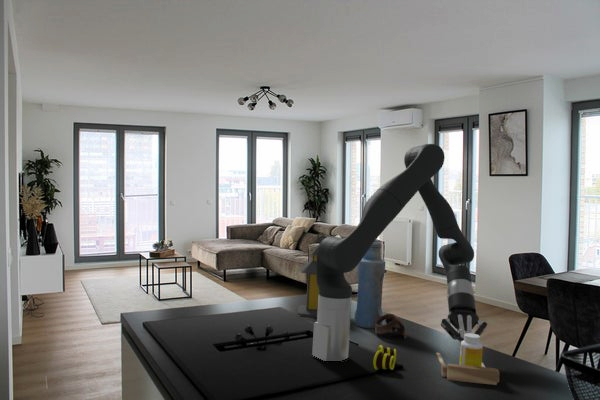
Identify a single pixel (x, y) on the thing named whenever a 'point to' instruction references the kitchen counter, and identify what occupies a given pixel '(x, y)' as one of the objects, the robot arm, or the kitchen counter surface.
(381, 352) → the opera glasses
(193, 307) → the kitchen counter surface
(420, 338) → the kitchen counter surface
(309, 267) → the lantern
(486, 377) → the bay
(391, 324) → the brown jagged curved piece
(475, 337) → the supplement bottle
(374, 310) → the bottle
